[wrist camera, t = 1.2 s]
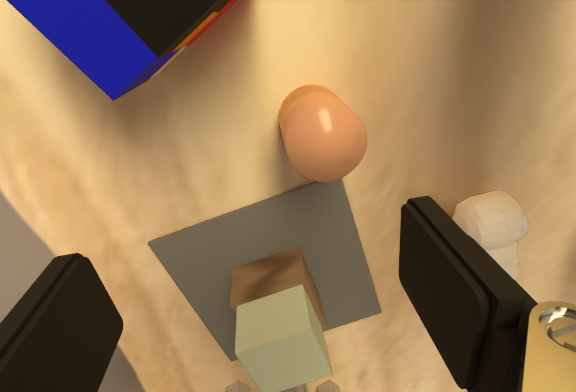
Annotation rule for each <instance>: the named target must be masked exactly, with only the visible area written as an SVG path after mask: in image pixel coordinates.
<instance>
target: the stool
mask: <svg viewBox="0 0 576 392" xmlns="http://www.w3.org/2000/svg"><path fill="white" fill-rule="evenodd" d="M318 391H319V392H340V390H339V386H337V385H336V384H335V383H334V382H333V381H331V380H328V381H327V382H325V383H323V384H321V385H319V386H318ZM226 392H249V387H247V386H246V385H245V384H243V383H242V382H240V381H239V380H238V381H237V382H235V383H233V384H232V385H230V386H228V387H226ZM282 392H308V387H307V383H305V384H302V385H299V386H295V387H292V388H289V389H286V390H283V391H282Z"/></svg>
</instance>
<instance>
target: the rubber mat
mask: <svg viewBox="0 0 576 392" xmlns="http://www.w3.org/2000/svg"><path fill="white" fill-rule="evenodd" d="M148 245H149V246H150V248H151V249H152V251H153V252H154V253H155V255H156V256H157V258H158V259H159V260H160V262H161V263H162V265H163V266H164V267H165V269H166V270H167V272H168V273H169V274H170V276H171V277H172V279H173V280H174V281H175V283H176V284H177V286H178V287H179V289H180V290H181V291H182V293H183V294H184V296H185V297H186V298H187V300H188V301H189V303H190V304H191V305H192V307H193V308H194V310H195V311H196V312H197V314H198V315H199V317H200V318H201V319H202V321H203V322H204V324H205V325H206V327H207V328H208V329H209V331H210V332H211V334H212V335H213V336H214V338H215V339H216V341H217V342H218V343H219V345H220V346H221V348H222V349H223V350H224V352H225V353H226V355H227V356H228V357H229V359H230V360H231V361H233V360H237V359H238V357H237V356H236V354H235V340H236V318H237V315H236V313H235V312H234V310H233V308H232V307H231V305H230V296H231V282H232V269H233V268H236V267H239V266H242V265H245V264H247V263H250V262H253V261H256V260H259V259H262V258H265V257H268V256H270V255H273V254H276V253H279V252H282V251H285V250H288V249H291V248H294V247H296V246H299V247H300V250H301V252H302V254H303V257H304V259H305V262H306V264H307V266H308V269H309V271H310V273H311V276H312V278H313V280H314V283H315V285H316V288H317V290H318V292H319V295H320V299H321V303H322V307H323V311H324V315H325V319H326V323H327V327H328V330H329V329H332V328H335V327H338V326H341V325H344V324H347V323H350V322H354V321H357V320H360V319H363V318H366V317H369V316H372V315H375V314H378V313H381V308H380V305H379V302H378V298H377V295H376V292H375V288H374V285H373V282H372V278H371V275H370V272H369V268H368V265H367V262H366V258H365V255H364V252H363V248H362V245H361V242H360V238H359V235H358V232H357V228H356V225H355V222H354V218H353V215H352V212H351V208H350V205H349V202H348V198H347V195H346V192H345V189H344V185H343V182H342V179H341V178H340V179H337V180H334V181H328V182H318V181H316V182H313V183H310V184H307V185H305V186H302V187H299V188H296V189H293V190H291V191H288V192H285V193H282V194H280V195H277V196H274V197H271V198H268V199H266V200H263V201H260V202H257V203H255V204H252V205H249V206H246V207H243V208H241V209H238V210H235V211H232V212H230V213H227V214H224V215H221V216H218V217H216V218H213V219H210V220H207V221H205V222H202V223H199V224H196V225H194V226H191V227H188V228H185V229H182V230H180V231H177V232H174V233H171V234H169V235H166V236H163V237H160V238H157V239H155V240H152V241H149V242H148Z"/></svg>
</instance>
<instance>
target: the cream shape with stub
mask: <svg viewBox="0 0 576 392" xmlns="http://www.w3.org/2000/svg"><path fill="white" fill-rule="evenodd" d="M452 220H453V221H454V222H455V223H456V224H457V225H458V226H459V227H460V228H461V229H462V230H463V231H464V232H465V233H466V234H467V235H469V236H471V237H472V238H473V239H474V240H475V241H476V242H477V243H478V244H479V245H480V246H481V247H482V248H483V249H484V250H485V251H486V252H487V253H488V254H489V255H490V256H491V257H492V258H493V259H494V260H495V261H496V262H497V263H498V264H499V265H500V266H501V267H502V268H503V269H504V270H505V271H506V272H507V273H508V274H509V275H510V276H511V277H512V278H513V279H514V280H517V279H518V265H519V259H518V251H517V243H516V241H517V240H519V239H520V238H522V237H523V236H524V235H525V234H526V233H527V231H528V220H527V219H526V217H525V215H524V212H523V210H522V209H521V207H520V206H519V205H518V204H517V202H516V201H515V200H514V199H513V197H511V196H510V195H508V194H506V193H505V192H503V191H490V192H487V193H485V194H480V195H475V196H472V197H469V198H467V199H465V200H463V201H461V202H460V203H459V204H457V206H456V208H455V214H454V215H453V216H452Z"/></svg>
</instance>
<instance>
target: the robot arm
mask: <svg viewBox="0 0 576 392" xmlns="http://www.w3.org/2000/svg"><path fill="white" fill-rule="evenodd" d="M399 278H400V282H401V284H402V286H403V288H404V290H405V292H406V293H407V295H408V297H409V299H410V301H411V302H412V304H413V306H414V308H415V310H416V311H417V313H418V315H419V317H420V319H421V320H422V322H423V324H424V326H425V328H426V329H427V331H428V333H429V335H430V337H431V339H432V340H433V342H434V344H435V346H436V348H437V349H438V351H439V353H440V355H441V357H442V358H443V360H444V362H445V364H446V366H447V367H448V369H449V371H450V373H451V375H452V377H453V378H454V380H455V382H456V384H457V385H458V386H459V387H460V388H461V389H467V391H468V392H576V305H574V304H569V303H564V302H544V303H540V304H538V303H537V302H536V301H535V300H534V299H533V298H532V297H531V296H530V295H529V294H528V293H527V292H526V291H525V290H524V289H523V288H522V287H521V286H520V285H519V284H518V283H517V282H516V281H515V280H514V279H513V278H512V277H511V276H510V275H509V274H508V273H507V272H506V271H505V270H504V269H503V268H502V267H501V266H500V265H499V264H498V263H497V262H496V261H495V260H494V259H493V258H492V257H491V256H490V255H489V254H488V253H487V252H486V251H485V250H484V249H483V248H482V247H481V246H480V245H479V244H478V243H477V242H476V241H475V240H474V239H473V238H472V237H471V236H469V235H467V234H466V233H465V232H464V231H463V230H462V229H461V228H460V227H459V226H458V225H457V224H456V223H455V222H454V221H453V220H452V218H451V217H450V216H449V215H448V214H447V213H446V212H445V211H444V210H443V209H442V208H441V207H440V206H439V205H438V204H437V203H436V202H435V201H434V200H433V199H432V198H431V197H429V196H423V197H417V198H411V199H408V201H407V204H404V205H402V208H401V229H400V254H399ZM122 331H123V320H122V318H121V316H120V314H119V312H118V310H117V309H116V307H115V305H114V303H113V301H112V300H111V298H110V296H109V294H108V292H107V290H106V289H105V287H104V285H103V283H102V281H101V279H100V278H99V276H98V274H97V272H96V270H95V269H94V267H93V265H92V263H91V261H90V260H89V258H87V257H83V255H81V254H79V253H75V254H68V255H62V256H57V257H55V258H54V259H53V260H52V261H51V262H50V264H49V265H48V266H47V267H46V268H45V270H44V271H43V272H42V273H41V275H40V276H39V277H38V278H37V279H36V281H35V282H34V283H33V284H32V285H31V287H30V288H29V289H28V290H27V292H26V293H25V294H24V295H23V297H22V298H21V299H20V300H19V301H18V303H17V304H16V305H15V306H14V308H13V309H12V310H11V311H10V312H9V313H8V315H7V316H6V317H5V318H4V320H3V321H2V322H1V323H0V392H98V389H99V387H100V384H101V382H102V380H103V377H104V375H105V372H106V370H107V368H108V365H109V363H110V360H111V358H112V355H113V353H114V350H115V348H116V346H117V343H118V341H119V339H120V336H121V334H122Z"/></svg>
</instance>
